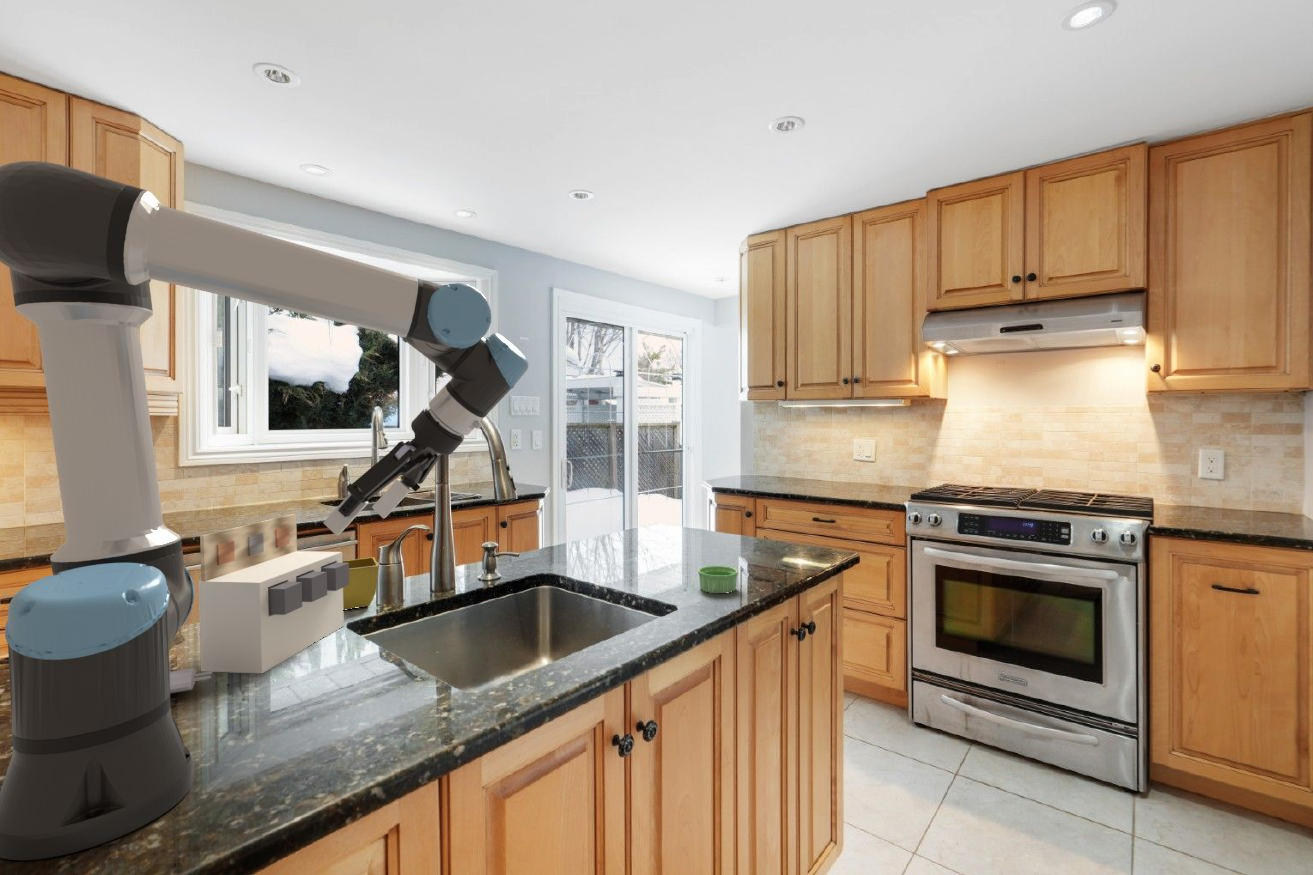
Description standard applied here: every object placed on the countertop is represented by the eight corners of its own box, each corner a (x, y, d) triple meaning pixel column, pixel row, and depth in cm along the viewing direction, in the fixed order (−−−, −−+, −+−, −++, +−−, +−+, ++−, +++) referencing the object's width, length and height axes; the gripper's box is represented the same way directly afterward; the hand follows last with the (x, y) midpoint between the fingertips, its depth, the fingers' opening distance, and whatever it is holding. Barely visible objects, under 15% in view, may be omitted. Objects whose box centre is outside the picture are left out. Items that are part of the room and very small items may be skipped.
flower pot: (330, 616, 120) (329, 570, 120) (328, 604, 128) (327, 561, 128) (379, 609, 125) (378, 565, 124) (374, 598, 132) (374, 556, 132)
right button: (336, 590, 108) (335, 568, 108) (318, 590, 108) (318, 567, 108) (349, 584, 112) (348, 562, 112) (332, 584, 112) (332, 562, 112)
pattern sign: (206, 581, 94) (205, 536, 93) (201, 581, 94) (200, 535, 94) (298, 551, 115) (297, 513, 114) (294, 551, 115) (293, 513, 114)
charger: (207, 704, 84) (59, 732, 77) (216, 679, 92) (83, 702, 85) (206, 670, 84) (58, 695, 76) (215, 648, 92) (82, 668, 85)
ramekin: (725, 582, 145) (725, 564, 145) (745, 592, 136) (745, 572, 136) (691, 586, 141) (691, 567, 141) (710, 597, 133) (710, 577, 133)
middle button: (312, 601, 101) (311, 578, 101) (293, 601, 102) (293, 577, 102) (327, 594, 105) (326, 571, 105) (309, 594, 106) (309, 571, 106)
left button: (285, 614, 95) (284, 589, 95) (265, 614, 95) (265, 588, 95) (302, 606, 99) (301, 582, 99) (283, 606, 99) (283, 581, 99)
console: (262, 673, 94) (259, 582, 93) (200, 671, 94) (198, 581, 94) (343, 626, 114) (342, 551, 114) (293, 624, 115) (291, 550, 115)
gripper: (430, 443, 81) (327, 556, 83) (490, 434, 106) (410, 521, 108) (389, 404, 82) (287, 518, 83) (459, 404, 106) (379, 492, 108)
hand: (356, 520), depth 95 cm, fingers open, 13 cm apart
